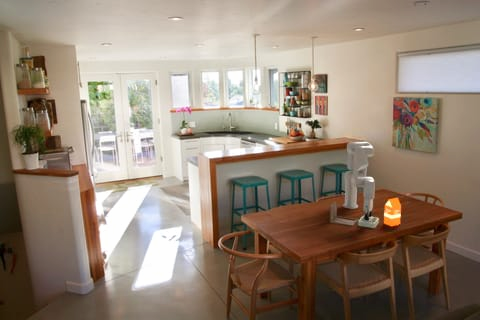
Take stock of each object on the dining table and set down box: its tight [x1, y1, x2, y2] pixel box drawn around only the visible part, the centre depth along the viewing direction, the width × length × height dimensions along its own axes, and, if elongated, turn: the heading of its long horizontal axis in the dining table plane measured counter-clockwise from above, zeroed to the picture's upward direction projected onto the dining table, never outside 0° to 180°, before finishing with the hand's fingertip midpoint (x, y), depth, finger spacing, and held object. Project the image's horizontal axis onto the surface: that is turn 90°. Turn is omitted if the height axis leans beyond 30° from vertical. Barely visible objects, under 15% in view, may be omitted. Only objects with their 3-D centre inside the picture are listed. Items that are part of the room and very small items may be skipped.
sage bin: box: [357, 215, 380, 229], centre depth 297 cm, size 14×12×4 cm
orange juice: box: [383, 197, 402, 227], centre depth 296 cm, size 8×9×20 cm
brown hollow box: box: [329, 200, 359, 227], centre depth 302 cm, size 15×17×14 cm
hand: (367, 218), depth 294 cm, fingers open, 7 cm apart
